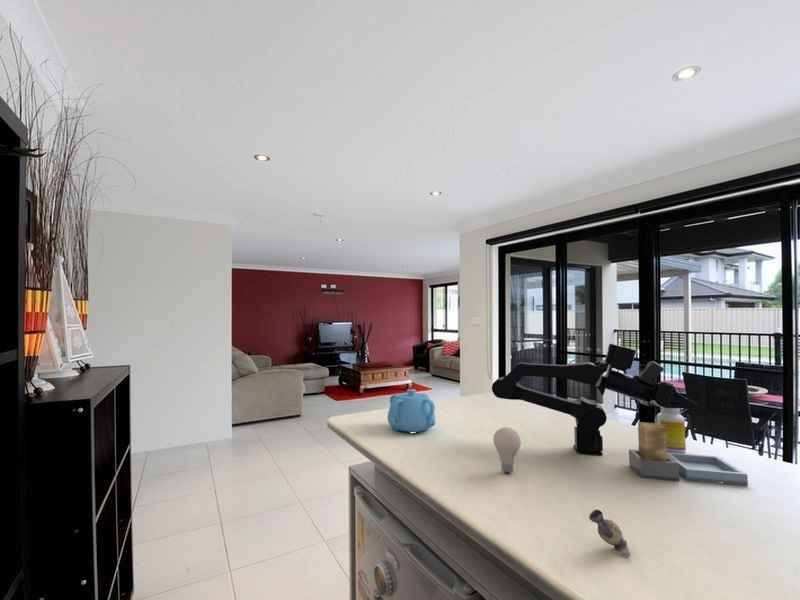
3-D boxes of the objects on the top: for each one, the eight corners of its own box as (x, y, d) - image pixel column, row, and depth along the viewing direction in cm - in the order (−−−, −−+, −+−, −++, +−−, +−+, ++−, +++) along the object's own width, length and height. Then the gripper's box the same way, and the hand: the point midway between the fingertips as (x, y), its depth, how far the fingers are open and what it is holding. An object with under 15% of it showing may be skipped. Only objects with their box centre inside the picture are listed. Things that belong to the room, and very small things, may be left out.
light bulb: (521, 469, 95) (520, 425, 95) (521, 479, 89) (520, 432, 89) (494, 466, 97) (494, 422, 98) (492, 476, 91) (491, 429, 91)
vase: (592, 555, 60) (590, 515, 61) (588, 540, 65) (586, 503, 66) (631, 562, 58) (628, 521, 59) (624, 546, 63) (621, 508, 64)
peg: (646, 472, 91) (644, 426, 92) (639, 465, 96) (637, 422, 96) (667, 474, 90) (665, 428, 91) (659, 467, 95) (657, 423, 95)
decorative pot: (385, 436, 123) (386, 393, 123) (389, 422, 139) (389, 385, 139) (435, 437, 122) (435, 394, 123) (433, 423, 138) (433, 385, 139)
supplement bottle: (690, 455, 106) (689, 408, 106) (664, 453, 107) (662, 407, 108) (678, 447, 112) (676, 403, 113) (653, 445, 113) (652, 402, 114)
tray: (687, 480, 89) (686, 469, 89) (664, 461, 100) (664, 452, 100) (747, 485, 86) (747, 474, 86) (717, 466, 97) (717, 456, 97)
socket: (641, 477, 90) (640, 460, 90) (629, 465, 98) (628, 449, 98) (679, 481, 88) (678, 463, 88) (664, 468, 96) (663, 452, 96)
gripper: (641, 354, 98) (713, 375, 92) (626, 359, 115) (686, 377, 109) (630, 395, 97) (702, 419, 91) (616, 394, 114) (676, 415, 108)
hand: (691, 405), depth 100 cm, fingers open, 9 cm apart
